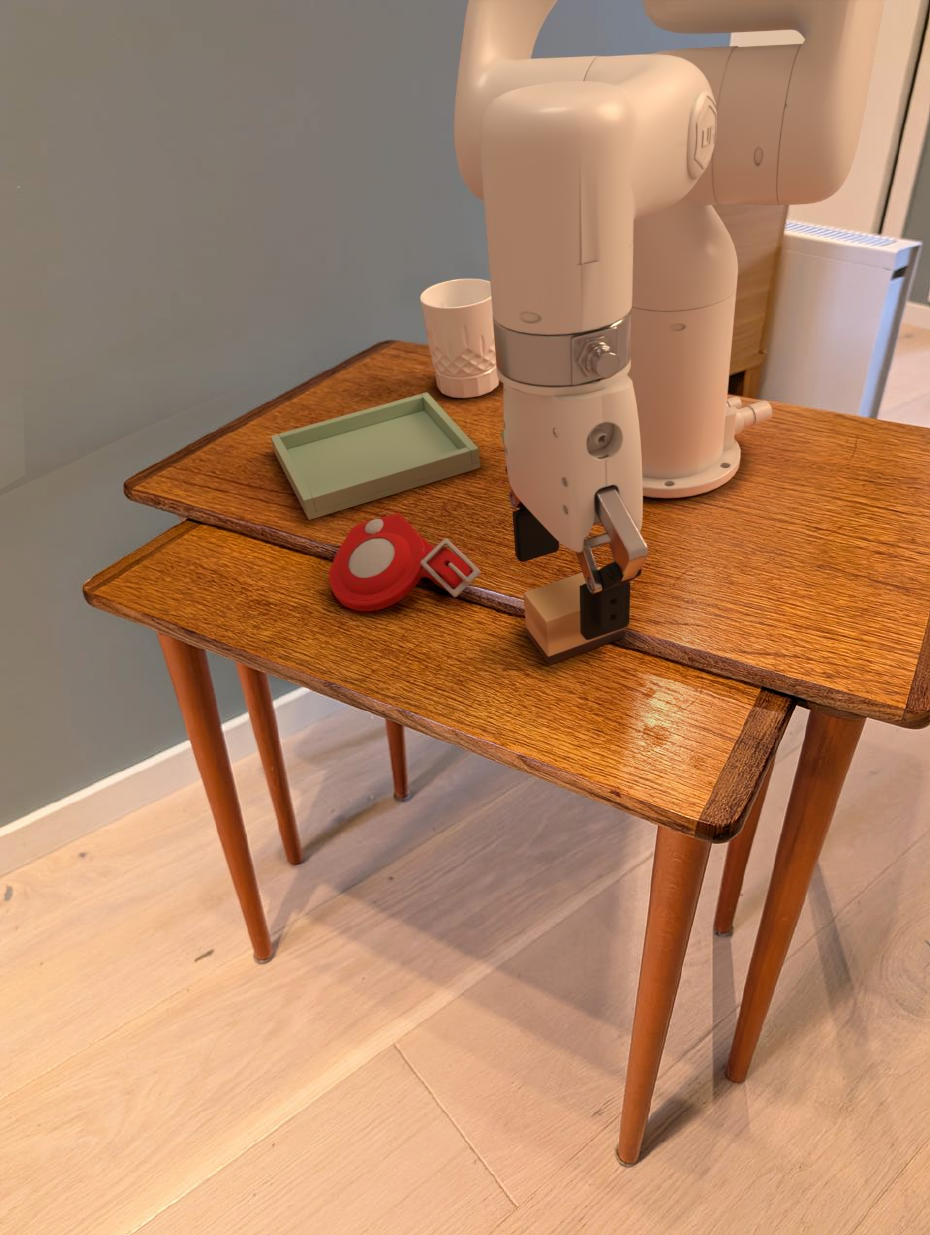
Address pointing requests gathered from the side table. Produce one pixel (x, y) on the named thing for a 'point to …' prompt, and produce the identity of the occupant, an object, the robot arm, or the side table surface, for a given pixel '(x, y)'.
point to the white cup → (461, 336)
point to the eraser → (560, 620)
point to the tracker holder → (393, 564)
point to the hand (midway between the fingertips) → (569, 590)
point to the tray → (373, 454)
